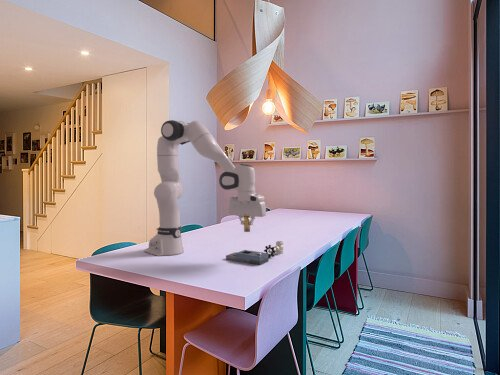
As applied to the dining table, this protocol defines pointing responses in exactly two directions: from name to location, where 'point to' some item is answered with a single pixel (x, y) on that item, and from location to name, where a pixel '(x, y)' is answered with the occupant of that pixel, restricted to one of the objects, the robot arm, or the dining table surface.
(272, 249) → the valve
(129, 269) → the dining table surface
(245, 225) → the brass pin
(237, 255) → the gray block with recess
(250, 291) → the dining table surface
